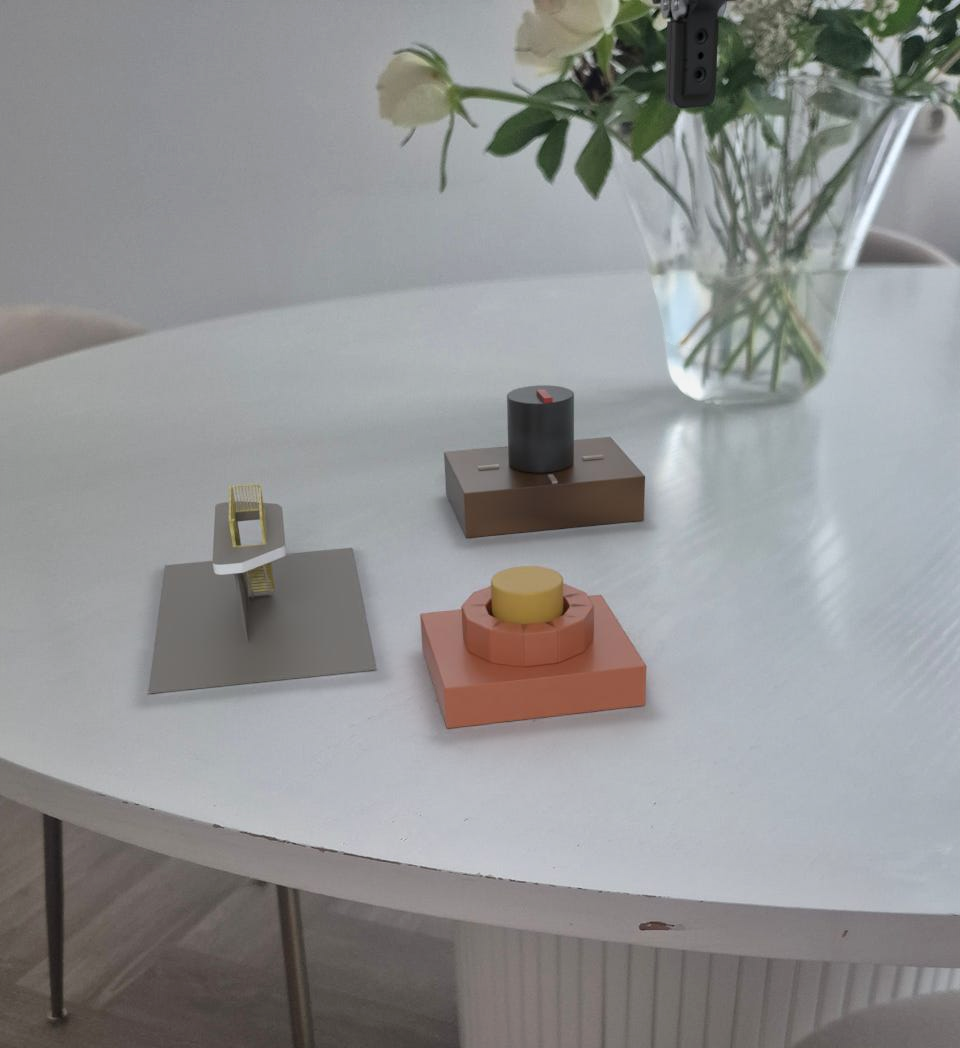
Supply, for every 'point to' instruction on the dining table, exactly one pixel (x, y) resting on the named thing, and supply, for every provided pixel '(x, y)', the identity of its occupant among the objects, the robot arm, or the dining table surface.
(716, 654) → the dining table surface
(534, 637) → the button box
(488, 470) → the control panel
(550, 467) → the dial knob
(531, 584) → the button
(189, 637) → the platform
